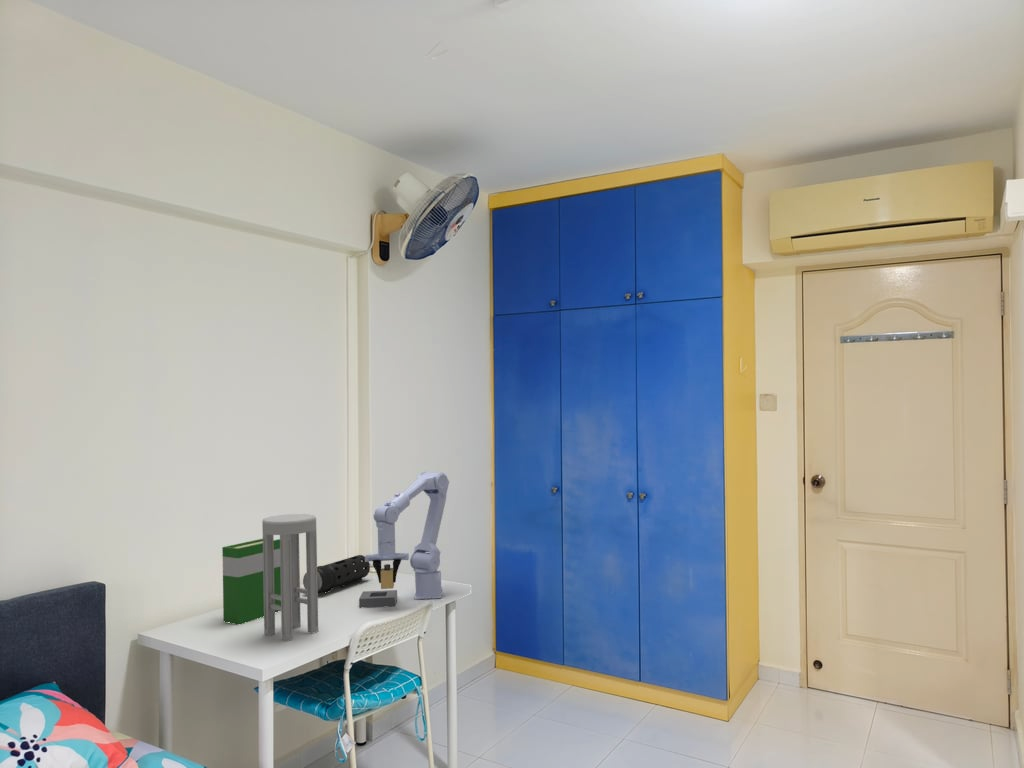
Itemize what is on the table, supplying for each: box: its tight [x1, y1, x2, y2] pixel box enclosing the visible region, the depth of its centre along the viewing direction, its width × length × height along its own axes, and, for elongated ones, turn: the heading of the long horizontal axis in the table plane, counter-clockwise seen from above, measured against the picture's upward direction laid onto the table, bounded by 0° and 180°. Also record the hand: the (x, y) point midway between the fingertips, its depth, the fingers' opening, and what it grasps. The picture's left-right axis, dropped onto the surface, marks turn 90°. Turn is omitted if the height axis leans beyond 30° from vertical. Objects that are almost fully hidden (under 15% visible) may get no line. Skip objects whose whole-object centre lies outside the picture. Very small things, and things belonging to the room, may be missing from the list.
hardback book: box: [222, 538, 281, 625], centre depth 243 cm, size 18×7×24 cm, turn 150°
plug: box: [380, 563, 395, 590], centre depth 247 cm, size 4×4×8 cm
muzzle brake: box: [302, 554, 371, 595], centre depth 277 cm, size 10×28×10 cm, turn 153°
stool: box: [261, 513, 319, 642], centre depth 223 cm, size 16×16×35 cm
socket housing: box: [358, 589, 398, 609], centre depth 254 cm, size 12×10×3 cm
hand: (387, 582), depth 247 cm, fingers closed on plug, 4 cm apart
